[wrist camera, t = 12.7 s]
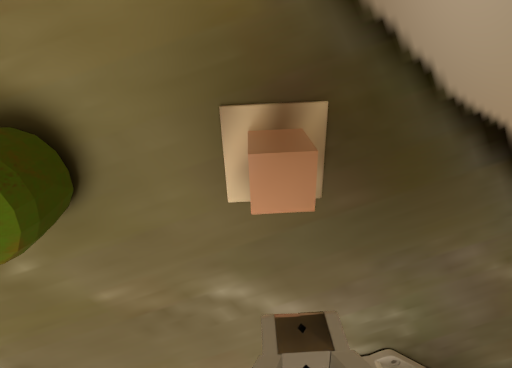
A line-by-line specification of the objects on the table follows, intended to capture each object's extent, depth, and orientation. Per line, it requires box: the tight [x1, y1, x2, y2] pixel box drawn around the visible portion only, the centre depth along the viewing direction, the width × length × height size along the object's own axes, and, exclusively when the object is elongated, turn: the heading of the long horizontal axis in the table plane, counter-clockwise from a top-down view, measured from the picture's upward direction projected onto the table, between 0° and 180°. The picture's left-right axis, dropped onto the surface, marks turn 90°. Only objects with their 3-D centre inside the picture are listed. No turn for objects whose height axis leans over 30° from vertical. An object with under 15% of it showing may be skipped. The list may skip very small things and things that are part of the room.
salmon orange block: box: [248, 128, 318, 214], centre depth 25 cm, size 5×5×7 cm
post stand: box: [219, 101, 328, 202], centre depth 25 cm, size 10×10×6 cm
